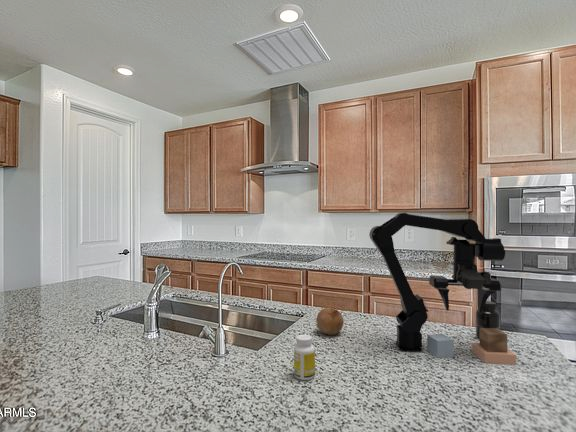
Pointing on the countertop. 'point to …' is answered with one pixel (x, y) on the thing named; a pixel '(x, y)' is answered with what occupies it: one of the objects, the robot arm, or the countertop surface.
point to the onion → (330, 321)
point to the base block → (494, 355)
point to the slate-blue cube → (440, 345)
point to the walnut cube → (493, 340)
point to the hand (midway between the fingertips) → (463, 311)
